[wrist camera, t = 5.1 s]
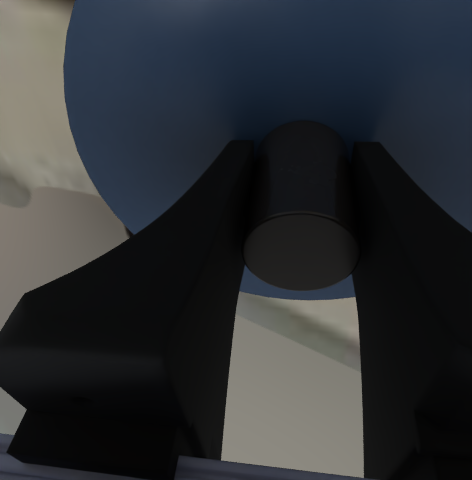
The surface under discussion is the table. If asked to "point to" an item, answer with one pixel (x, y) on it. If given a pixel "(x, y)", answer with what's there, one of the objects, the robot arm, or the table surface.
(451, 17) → the pot lid
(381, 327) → the robot arm
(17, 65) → the table surface
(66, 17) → the table surface
